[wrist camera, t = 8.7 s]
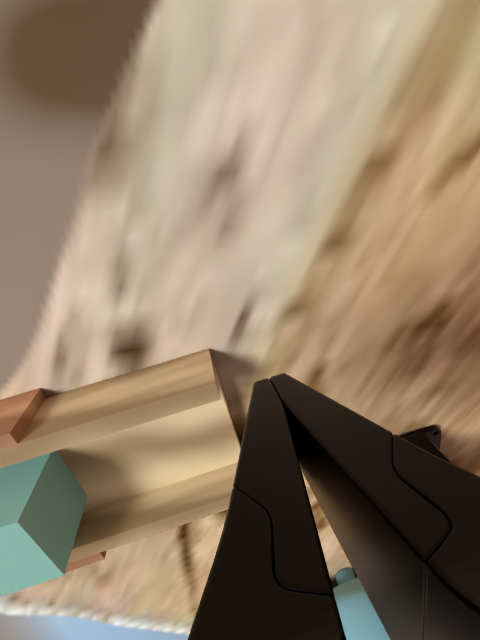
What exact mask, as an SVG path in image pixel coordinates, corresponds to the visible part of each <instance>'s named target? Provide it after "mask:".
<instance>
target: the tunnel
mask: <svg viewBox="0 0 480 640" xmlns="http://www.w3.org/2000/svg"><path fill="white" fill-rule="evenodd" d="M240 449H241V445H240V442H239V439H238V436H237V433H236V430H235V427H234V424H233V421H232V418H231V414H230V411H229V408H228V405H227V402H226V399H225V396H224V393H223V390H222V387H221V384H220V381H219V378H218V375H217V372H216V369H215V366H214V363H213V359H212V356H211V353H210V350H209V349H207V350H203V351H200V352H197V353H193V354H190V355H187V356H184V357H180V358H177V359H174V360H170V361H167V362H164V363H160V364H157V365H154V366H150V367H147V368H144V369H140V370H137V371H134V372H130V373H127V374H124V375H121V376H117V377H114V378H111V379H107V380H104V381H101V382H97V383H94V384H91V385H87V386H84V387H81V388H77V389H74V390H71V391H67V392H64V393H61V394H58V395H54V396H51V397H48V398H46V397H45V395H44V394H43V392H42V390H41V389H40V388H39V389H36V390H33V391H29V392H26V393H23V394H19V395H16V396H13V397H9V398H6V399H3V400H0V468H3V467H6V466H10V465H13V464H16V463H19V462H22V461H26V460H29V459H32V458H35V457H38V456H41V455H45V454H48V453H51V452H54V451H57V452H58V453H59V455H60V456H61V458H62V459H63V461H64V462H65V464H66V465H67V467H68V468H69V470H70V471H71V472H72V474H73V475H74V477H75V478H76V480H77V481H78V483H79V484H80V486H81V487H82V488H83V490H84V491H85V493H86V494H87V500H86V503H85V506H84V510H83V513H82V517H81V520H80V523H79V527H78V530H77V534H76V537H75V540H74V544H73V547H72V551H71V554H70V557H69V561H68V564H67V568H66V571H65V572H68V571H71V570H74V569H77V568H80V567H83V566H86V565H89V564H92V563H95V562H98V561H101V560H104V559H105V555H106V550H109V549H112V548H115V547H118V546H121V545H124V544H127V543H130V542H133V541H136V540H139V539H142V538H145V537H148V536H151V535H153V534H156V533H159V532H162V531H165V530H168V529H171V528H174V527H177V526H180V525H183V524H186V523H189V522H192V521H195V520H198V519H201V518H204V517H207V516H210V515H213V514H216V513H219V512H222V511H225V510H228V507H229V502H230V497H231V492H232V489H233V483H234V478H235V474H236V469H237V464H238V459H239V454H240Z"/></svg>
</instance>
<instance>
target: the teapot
mask: <svg viewBox="0 0 480 640" xmlns="http://www.w3.org/2000/svg"><path fill="white" fill-rule="evenodd" d="M335 579H336V581H337V584H338V586H337V587H335V588H333V592H334V596H335V600H336V603H337V607H338V610H339V614H340V618H341V621H342V625H343V629H344V632H345V636H346V640H390V638H389V636H388V634H387V632H386V630H385V628H384V626H383V624H382V623H381V621H380V619H379V617H378V615H377V613H376V611H375V609H374V607H373V605H372V603H371V602H370V600H369V598H368V596H367V594H366V592H365V590H364V588H363V586H362V584H361V583H360V581H359V579H358V578H355V575H354V570H353V569H352V568H350V567H347V568H343V569H341V570H339V571H338V572H337V573H336V574H335Z"/></svg>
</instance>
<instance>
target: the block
mask: <svg viewBox="0 0 480 640" xmlns="http://www.w3.org/2000/svg"><path fill="white" fill-rule="evenodd" d="M86 500H87V494H86V493H85V491H84V490H83V488H82V487H81V486H80V484H79V483H78V481H77V480H76V478H75V477H74V475H73V474H72V472H71V471H70V470H69V468H68V467H67V465H66V464H65V462H64V461H63V459H62V458H61V456H60V455H59V453H58V452H57V451H54V452H51V453H48V454H45V455H41V456H38V457H35V458H32V459H29V460H26V461H22V462H19V463H16V464H13V465H10V466H6V467H3V468H0V597H1V596H4V595H7V594H10V593H13V592H16V591H19V590H22V589H25V588H28V587H31V586H34V585H37V584H40V583H43V582H46V581H49V580H52V579H55V578H58V577H61V576H63V575H64V574H65V571H66V568H67V564H68V561H69V557H70V554H71V551H72V547H73V544H74V540H75V537H76V534H77V530H78V527H79V523H80V520H81V517H82V513H83V510H84V506H85V503H86Z"/></svg>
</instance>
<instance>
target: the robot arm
mask: <svg viewBox="0 0 480 640" xmlns="http://www.w3.org/2000/svg"><path fill="white" fill-rule="evenodd" d="M440 440H441V430H440V429H439V428H438V427H437V426H431V427H428V428H425V429H422V430H419V431H416V432H414V433H411V434H408V435H405V436H402V437H399V436H397V435H392V433H391V432H390V431H388V430H386V429H384V428H383V427H381V426H379V425H377V424H375V423H374V422H372V421H370V420H368V419H366V418H365V417H363V416H361V415H359V414H357V413H356V412H354V411H352V410H350V409H348V408H346V407H345V406H343V405H341V404H339V403H337V402H336V401H334V400H332V399H330V398H328V397H327V396H325V395H323V394H321V393H319V392H318V391H316V390H314V389H312V388H310V387H309V386H307V385H305V384H303V383H301V382H300V381H298V380H296V379H294V378H292V377H291V376H289V375H287V374H285V373H282V374H279V375H276V376H272V377H271V378H270V379H268V378H266V379H263V380H260V381H256V382H255V383H254V385H253V390H252V395H251V400H250V405H249V409H248V414H247V419H246V424H245V429H244V434H243V439H242V444H241V449H240V454H239V459H238V464H237V469H236V474H235V478H234V483H233V489H232V492H231V497H230V502H229V507H228V511H227V515H226V520H225V524H224V528H223V532H222V535H221V539H220V542H219V545H218V549H217V552H216V555H215V558H214V562H213V565H212V568H211V571H210V574H209V577H208V580H207V583H206V586H205V589H204V592H203V595H202V598H201V601H200V604H199V607H198V610H197V613H196V616H195V619H194V622H193V625H192V628H191V631H190V634H189V637H188V640H346V636H345V632H344V629H343V625H342V621H341V618H340V614H339V610H338V607H337V603H336V600H335V596H334V592H333V588H332V584H331V580H330V577H329V573H328V569H327V565H326V562H325V558H324V554H323V550H322V546H321V543H320V539H319V535H318V531H317V528H316V524H315V520H314V516H313V513H312V509H311V505H310V501H309V498H308V494H307V490H306V486H305V483H304V479H303V475H302V472H303V474H304V476H305V478H306V480H307V481H308V483H309V485H310V487H311V489H312V491H313V493H314V495H315V497H316V499H317V501H318V502H319V504H320V506H321V508H322V510H323V512H324V514H325V516H326V518H327V520H328V522H329V523H330V525H331V527H332V529H333V531H334V533H335V535H336V537H337V539H338V541H339V542H340V544H341V546H342V548H343V550H344V552H345V554H346V556H347V558H348V560H349V562H350V563H351V565H352V567H353V569H354V571H355V573H356V575H357V577H358V579H359V581H360V583H361V584H362V586H363V588H364V590H365V592H366V594H367V596H368V598H369V600H370V602H371V603H372V605H373V607H374V609H375V611H376V613H377V615H378V617H379V619H380V621H381V623H382V624H383V626H384V628H385V630H386V632H387V634H388V636H389V638H390V640H480V477H479V476H477V475H475V474H473V473H470V472H468V471H466V470H464V469H462V468H460V467H458V466H456V465H454V464H453V463H452V462H451V461H450V460H449V459H448V458H447V457H446V456H445V455H444V454H443V453H442V452H441V450H440ZM301 470H302V471H301Z"/></svg>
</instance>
